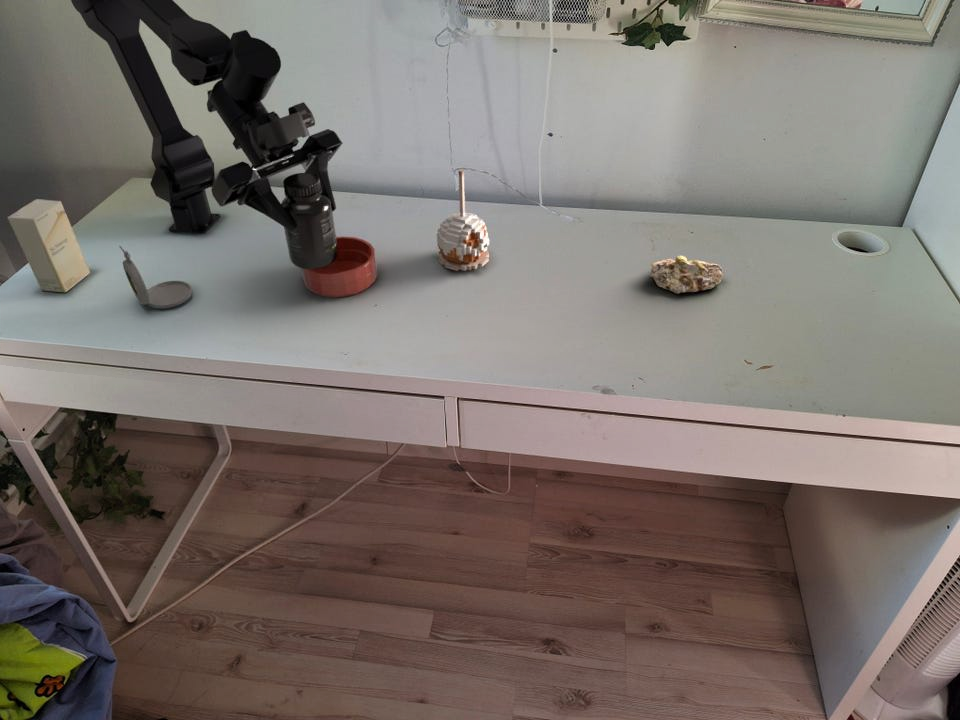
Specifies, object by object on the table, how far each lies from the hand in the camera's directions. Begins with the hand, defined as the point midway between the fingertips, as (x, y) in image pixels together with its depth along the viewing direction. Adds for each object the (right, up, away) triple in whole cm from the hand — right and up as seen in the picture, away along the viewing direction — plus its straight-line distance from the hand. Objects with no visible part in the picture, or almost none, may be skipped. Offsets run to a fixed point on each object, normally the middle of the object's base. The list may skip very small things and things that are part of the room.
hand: (314, 219), depth 98 cm
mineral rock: (+54, -8, +9) cm, 55 cm away
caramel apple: (+20, -4, +15) cm, 25 cm away
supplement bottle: (-1, -5, +5) cm, 7 cm away
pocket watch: (-24, -11, +7) cm, 27 cm away
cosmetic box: (-40, -7, +12) cm, 43 cm away
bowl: (+2, -7, +11) cm, 13 cm away
